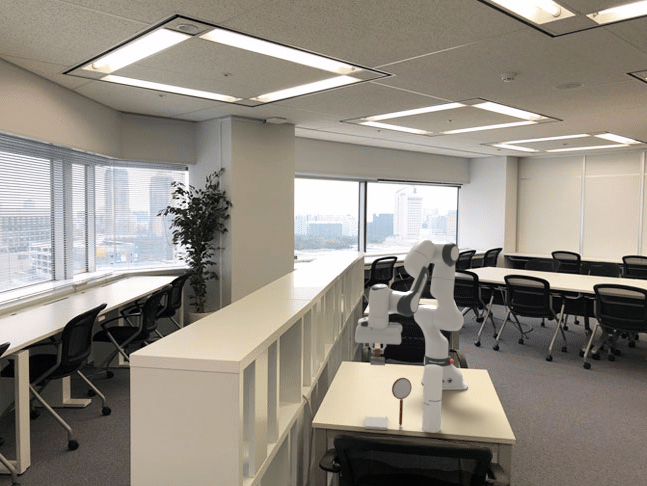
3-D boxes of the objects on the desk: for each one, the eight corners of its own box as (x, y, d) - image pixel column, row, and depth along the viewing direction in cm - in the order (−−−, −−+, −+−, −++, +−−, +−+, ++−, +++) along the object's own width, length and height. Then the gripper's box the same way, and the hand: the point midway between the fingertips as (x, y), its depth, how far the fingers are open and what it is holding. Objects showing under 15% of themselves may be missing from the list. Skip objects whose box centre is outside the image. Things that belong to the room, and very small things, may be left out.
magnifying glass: (391, 428, 198) (393, 379, 197) (389, 426, 200) (391, 378, 198) (411, 425, 201) (412, 377, 200) (408, 424, 203) (410, 376, 201)
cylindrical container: (439, 433, 195) (441, 371, 193) (420, 430, 197) (423, 368, 195) (441, 426, 201) (444, 365, 200) (423, 423, 204) (425, 363, 202)
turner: (370, 349, 229) (370, 340, 228) (383, 350, 228) (384, 341, 228) (370, 364, 207) (370, 355, 207) (384, 365, 206) (385, 356, 206)
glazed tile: (386, 417, 206) (387, 427, 197) (386, 421, 206) (387, 431, 197) (365, 416, 207) (364, 425, 198) (364, 420, 207) (364, 429, 198)
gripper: (402, 321, 219) (401, 351, 220) (355, 319, 221) (354, 349, 222) (402, 324, 213) (401, 356, 214) (354, 322, 215) (354, 354, 216)
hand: (377, 352), depth 218 cm, fingers closed on turner, 2 cm apart
